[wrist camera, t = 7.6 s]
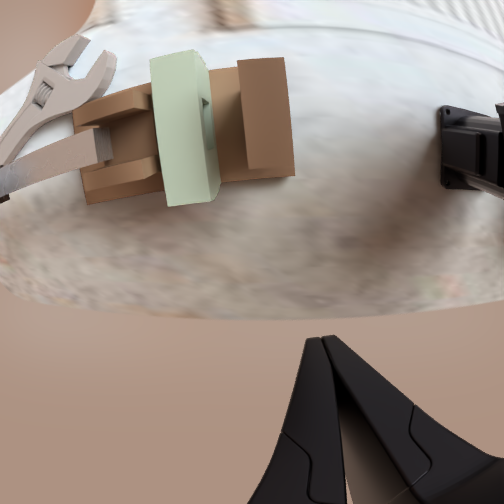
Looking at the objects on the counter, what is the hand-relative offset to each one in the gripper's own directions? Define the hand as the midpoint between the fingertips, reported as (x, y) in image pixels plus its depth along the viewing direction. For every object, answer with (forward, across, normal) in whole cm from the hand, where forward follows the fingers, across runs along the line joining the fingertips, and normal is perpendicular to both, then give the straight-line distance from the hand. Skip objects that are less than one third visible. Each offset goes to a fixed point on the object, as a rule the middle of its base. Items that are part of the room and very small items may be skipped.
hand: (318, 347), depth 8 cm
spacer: (+11, +4, -6) cm, 13 cm away
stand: (+12, +6, -6) cm, 15 cm away
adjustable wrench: (+12, +22, -10) cm, 27 cm away
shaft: (+7, +13, -7) cm, 17 cm away
